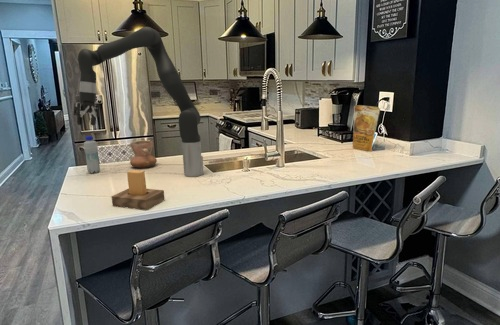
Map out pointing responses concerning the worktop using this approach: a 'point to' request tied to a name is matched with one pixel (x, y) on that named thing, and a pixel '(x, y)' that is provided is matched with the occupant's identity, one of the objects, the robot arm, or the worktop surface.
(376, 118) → the pancake mix bag
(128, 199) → the slotted box
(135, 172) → the tan rectangular block
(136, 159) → the reddish brown vase
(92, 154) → the bottle
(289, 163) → the worktop surface
